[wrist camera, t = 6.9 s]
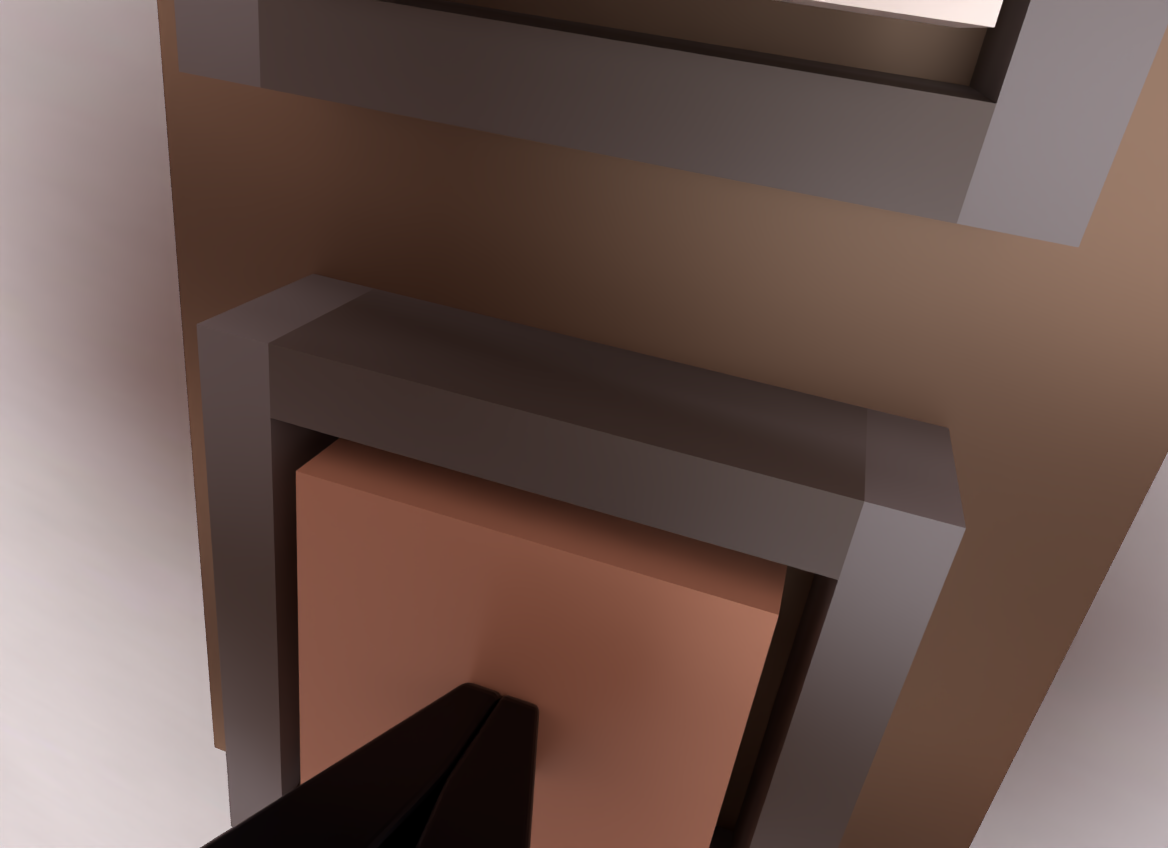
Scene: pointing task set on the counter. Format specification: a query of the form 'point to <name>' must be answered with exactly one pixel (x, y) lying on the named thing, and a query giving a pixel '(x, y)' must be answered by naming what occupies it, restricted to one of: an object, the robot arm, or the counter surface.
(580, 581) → the terracotta key
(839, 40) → the keypad board
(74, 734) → the counter surface
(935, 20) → the beige key
